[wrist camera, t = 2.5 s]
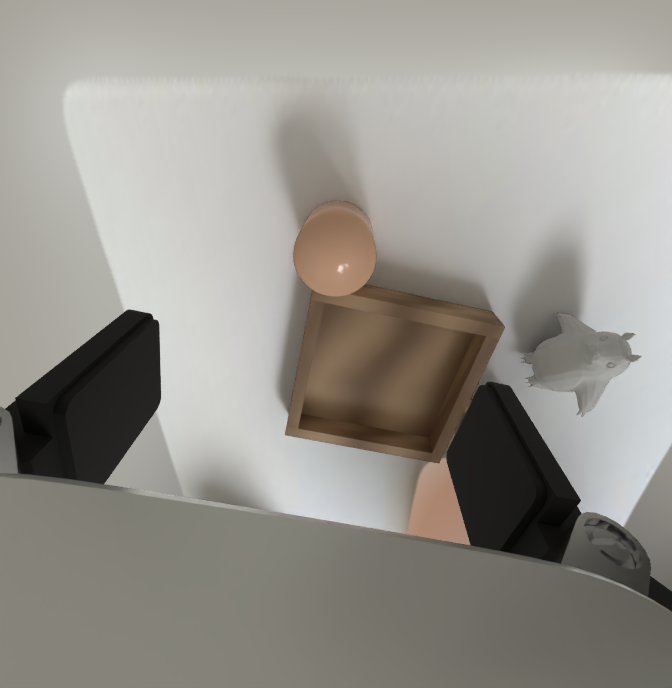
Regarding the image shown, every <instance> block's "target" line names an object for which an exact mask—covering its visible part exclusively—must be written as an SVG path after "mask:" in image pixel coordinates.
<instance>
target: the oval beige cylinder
mask: <svg viewBox="0 0 672 688" xmlns="http://www.w3.org/2000/svg"><path fill="white" fill-rule="evenodd" d="M376 257H377V255H376V247H375V242H374V237H373V232H372V227H371V224H370V222H369V220H368V218H367V216H366V215H365V214H364V212H363V211H362V210H361V209H359V208H358V207H357V206H355V205H353V204H351V203H348V202H345V201H330V202H326V203H324V204H322V205H320V206H318V207H317V208H316V209H314V210H313V211H312V212H311V214H310V215H309V216H308V218H307V220H306V222H305V224H304V226H303V228H302V229H301V231H300V233H299V235H298V237H297V239H296V242H295V245H294V252H293V259H294V265H295V268H296V271H297V273H298V275H299V277H300V278H301V280H302V281H303V282H304V283H305V284H306V285H307V286H308V287H309V288H311V289H312V290H314V291H315V292H317V293H320V294H323V295H326V296H336V297H337V296H344V295H348V294H351V293H353V292H355V291H357V290H359V289H360V288H361V287H362V286H364V285H365V284H366V283H367V281H368V280H369V279H370V277H371V275H372V273H373V271H374V268H375V265H376Z"/></svg>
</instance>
